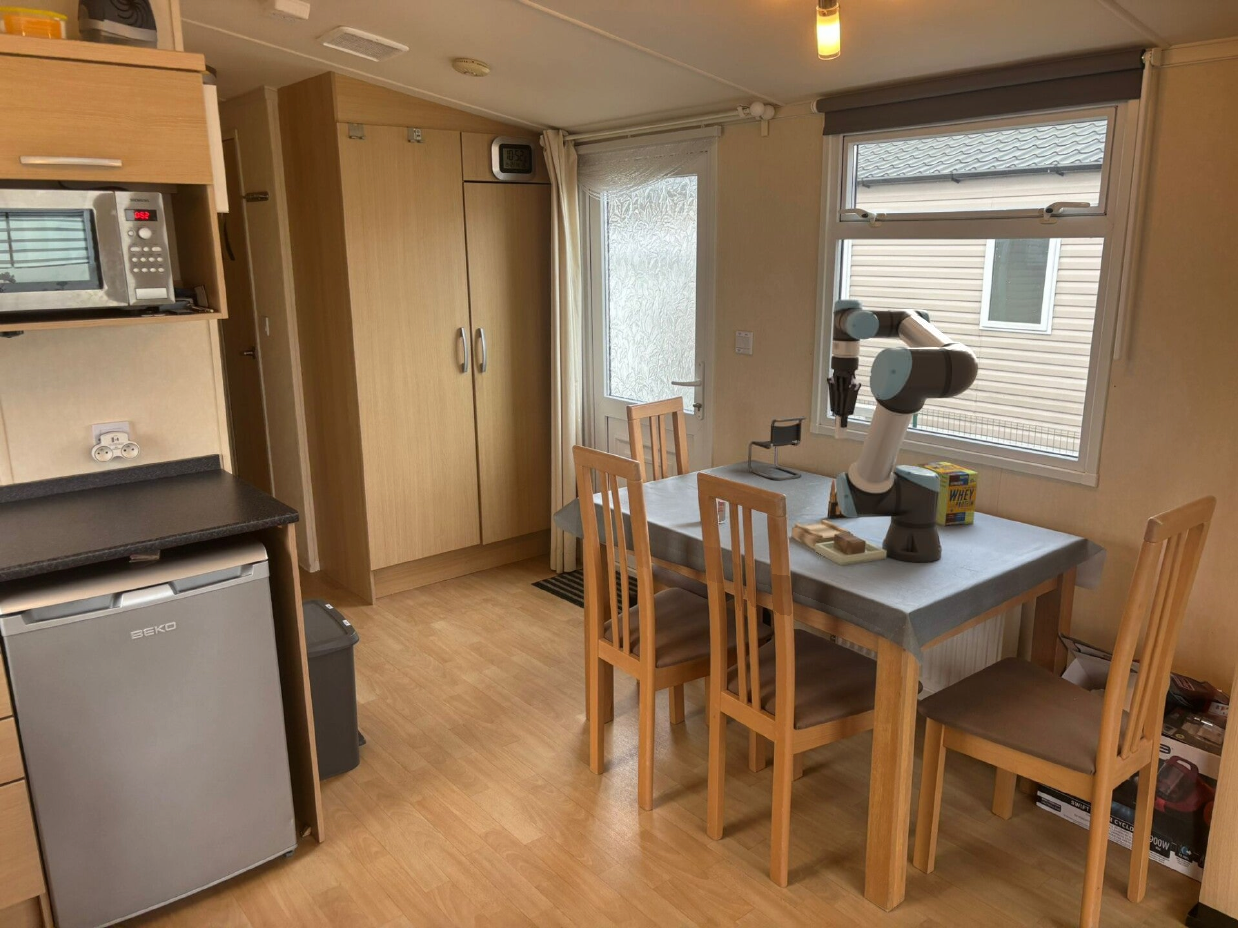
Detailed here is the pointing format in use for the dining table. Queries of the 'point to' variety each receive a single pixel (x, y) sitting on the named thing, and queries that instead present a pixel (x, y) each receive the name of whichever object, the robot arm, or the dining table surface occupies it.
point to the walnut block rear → (840, 540)
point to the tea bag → (721, 510)
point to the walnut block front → (853, 546)
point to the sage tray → (843, 559)
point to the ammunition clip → (834, 505)
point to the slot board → (816, 533)
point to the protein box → (954, 493)
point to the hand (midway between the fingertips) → (840, 438)
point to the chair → (780, 444)
